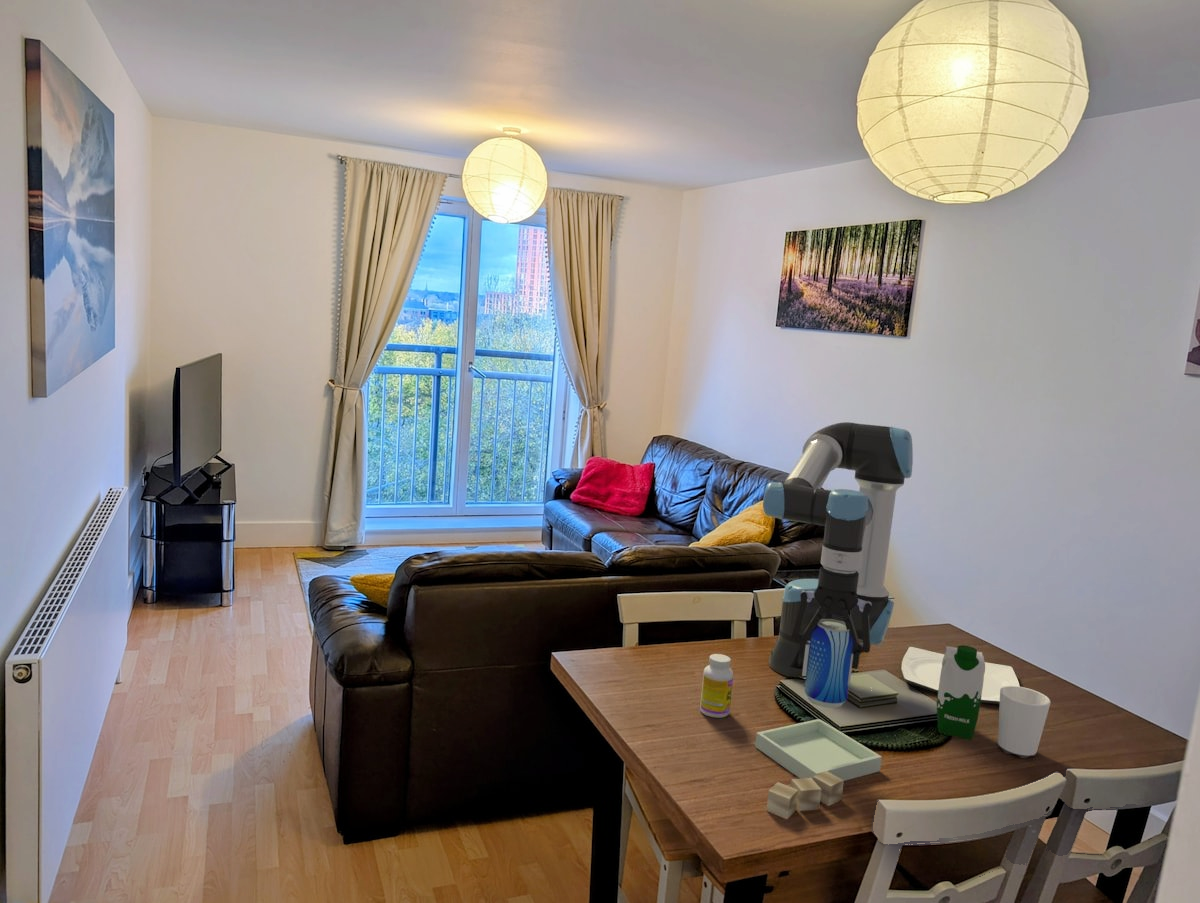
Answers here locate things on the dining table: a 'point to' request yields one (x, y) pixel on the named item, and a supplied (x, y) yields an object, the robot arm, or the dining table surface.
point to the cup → (1021, 720)
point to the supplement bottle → (717, 687)
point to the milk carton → (960, 691)
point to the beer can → (829, 664)
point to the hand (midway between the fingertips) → (826, 677)
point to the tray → (817, 751)
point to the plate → (926, 674)
